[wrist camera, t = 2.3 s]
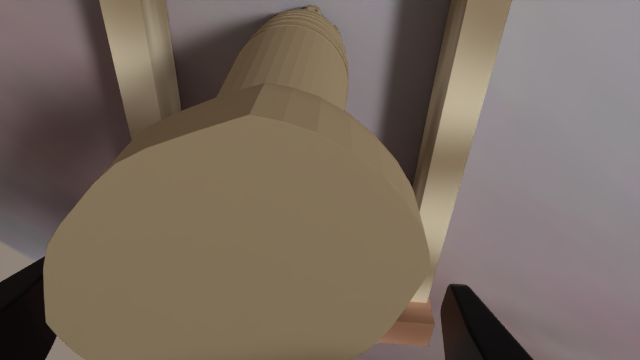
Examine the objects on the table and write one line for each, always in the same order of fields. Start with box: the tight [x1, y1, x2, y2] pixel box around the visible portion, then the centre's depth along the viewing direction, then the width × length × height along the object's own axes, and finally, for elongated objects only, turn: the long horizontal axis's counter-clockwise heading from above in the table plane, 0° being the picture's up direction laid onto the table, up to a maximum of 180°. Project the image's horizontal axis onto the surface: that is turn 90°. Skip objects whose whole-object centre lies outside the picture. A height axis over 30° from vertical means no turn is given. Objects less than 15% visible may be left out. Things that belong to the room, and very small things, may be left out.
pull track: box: [99, 0, 512, 346], centre depth 20 cm, size 20×16×4 cm
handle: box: [43, 5, 431, 360], centre depth 13 cm, size 5×6×15 cm
